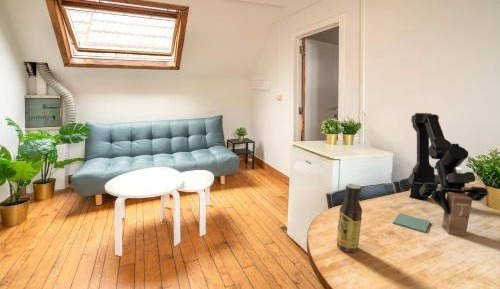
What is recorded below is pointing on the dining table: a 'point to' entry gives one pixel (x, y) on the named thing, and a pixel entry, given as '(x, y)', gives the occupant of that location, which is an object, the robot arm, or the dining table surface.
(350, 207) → the sauce bottle
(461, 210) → the letter block
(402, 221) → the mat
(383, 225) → the dining table surface
